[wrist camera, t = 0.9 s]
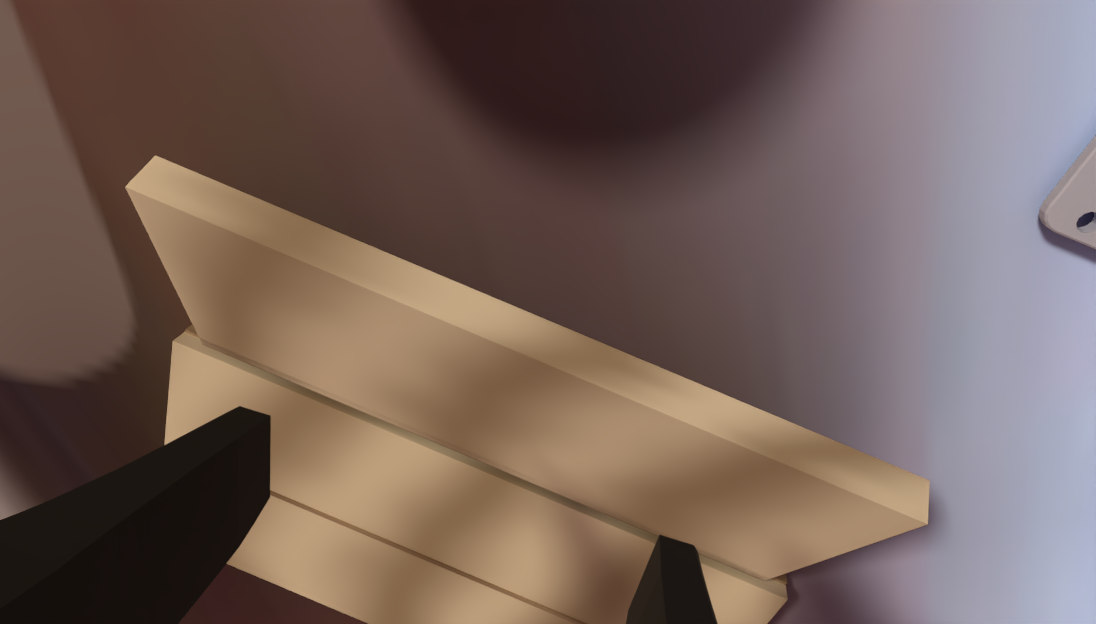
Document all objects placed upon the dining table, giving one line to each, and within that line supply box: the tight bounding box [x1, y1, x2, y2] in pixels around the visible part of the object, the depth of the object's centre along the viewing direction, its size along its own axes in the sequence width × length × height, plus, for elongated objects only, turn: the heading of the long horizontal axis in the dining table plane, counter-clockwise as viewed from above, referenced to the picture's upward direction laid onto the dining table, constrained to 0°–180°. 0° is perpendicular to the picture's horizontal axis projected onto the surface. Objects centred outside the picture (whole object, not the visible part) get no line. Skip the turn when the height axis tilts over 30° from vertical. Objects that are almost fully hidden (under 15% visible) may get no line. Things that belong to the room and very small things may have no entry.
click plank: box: [125, 156, 930, 581], centre depth 20 cm, size 20×8×1 cm, turn 70°
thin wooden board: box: [165, 324, 788, 624], centre depth 26 cm, size 22×10×1 cm, turn 70°
